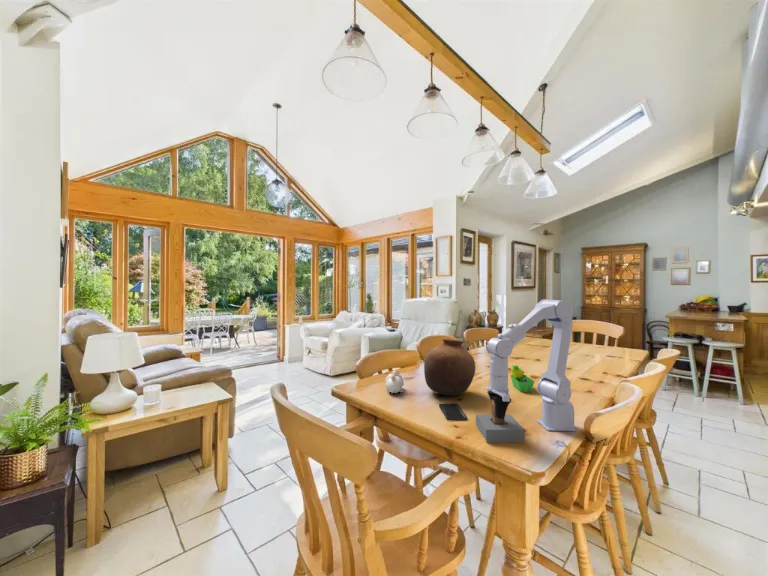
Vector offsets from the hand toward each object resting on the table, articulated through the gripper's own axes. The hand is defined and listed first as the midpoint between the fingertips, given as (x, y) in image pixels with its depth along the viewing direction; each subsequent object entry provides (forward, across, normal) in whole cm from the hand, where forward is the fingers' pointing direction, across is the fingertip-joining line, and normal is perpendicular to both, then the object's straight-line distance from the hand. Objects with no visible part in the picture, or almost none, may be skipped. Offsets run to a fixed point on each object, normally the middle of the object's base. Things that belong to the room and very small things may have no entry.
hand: (498, 415), depth 108 cm
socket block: (+6, 0, 0) cm, 6 cm away
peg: (+3, 0, 0) cm, 3 cm away
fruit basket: (+6, -47, +26) cm, 54 cm away
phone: (+7, -18, -12) cm, 23 cm away
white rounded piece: (+6, -44, -34) cm, 56 cm away
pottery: (+6, -40, -9) cm, 41 cm away
